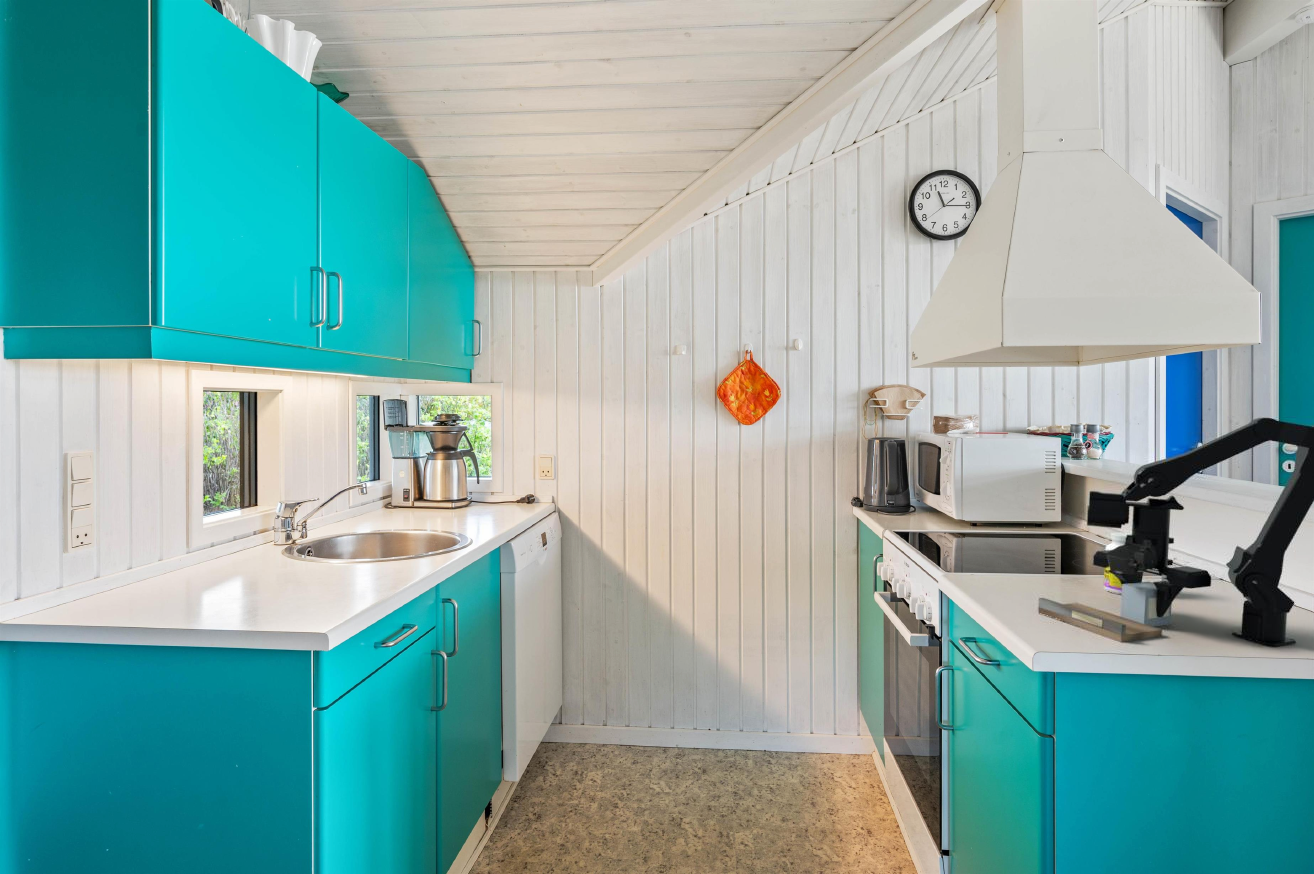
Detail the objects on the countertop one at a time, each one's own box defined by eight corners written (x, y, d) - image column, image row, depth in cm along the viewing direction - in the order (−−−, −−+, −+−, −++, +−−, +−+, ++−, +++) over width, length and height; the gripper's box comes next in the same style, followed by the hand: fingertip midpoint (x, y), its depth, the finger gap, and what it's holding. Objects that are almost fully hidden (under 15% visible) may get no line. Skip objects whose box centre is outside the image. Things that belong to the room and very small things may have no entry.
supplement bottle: (1105, 586, 157) (1108, 530, 156) (1140, 591, 153) (1143, 533, 152) (1101, 592, 152) (1104, 534, 151) (1138, 598, 147) (1141, 538, 147)
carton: (1120, 620, 132) (1122, 584, 132) (1146, 616, 134) (1148, 581, 134) (1144, 628, 127) (1146, 590, 127) (1171, 624, 130) (1173, 587, 129)
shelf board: (1076, 608, 139) (1076, 593, 139) (1161, 636, 123) (1162, 619, 123) (1037, 612, 136) (1038, 597, 136) (1120, 642, 120) (1121, 625, 120)
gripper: (1073, 524, 136) (1070, 602, 137) (1171, 543, 118) (1166, 632, 119) (1115, 521, 140) (1111, 597, 141) (1215, 540, 122) (1210, 626, 123)
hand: (1146, 612), depth 131 cm, fingers closed on carton, 5 cm apart
